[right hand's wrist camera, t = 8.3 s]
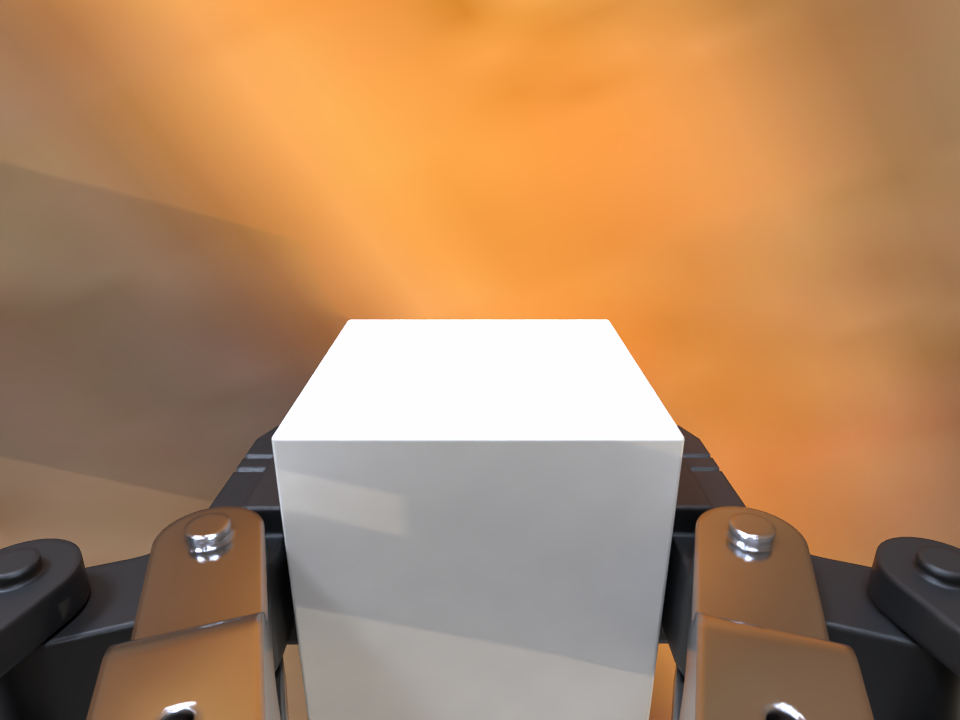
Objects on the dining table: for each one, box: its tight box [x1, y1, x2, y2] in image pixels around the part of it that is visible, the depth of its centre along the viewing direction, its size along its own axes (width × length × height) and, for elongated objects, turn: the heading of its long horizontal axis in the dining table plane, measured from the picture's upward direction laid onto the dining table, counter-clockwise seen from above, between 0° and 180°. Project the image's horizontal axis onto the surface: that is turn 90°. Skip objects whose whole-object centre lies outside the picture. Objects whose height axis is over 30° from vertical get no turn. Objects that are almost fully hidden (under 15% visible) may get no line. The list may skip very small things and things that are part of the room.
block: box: [272, 320, 684, 720], centre depth 10 cm, size 5×5×4 cm
